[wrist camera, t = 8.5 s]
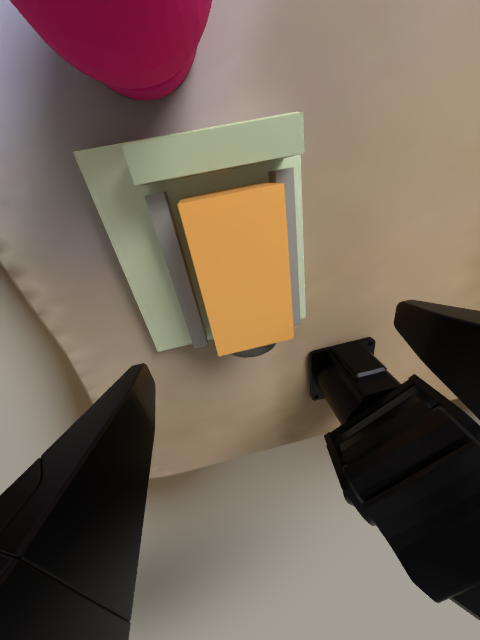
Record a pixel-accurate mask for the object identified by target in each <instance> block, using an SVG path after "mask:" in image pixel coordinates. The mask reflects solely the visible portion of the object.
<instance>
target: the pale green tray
mask: <svg viewBox="0 0 480 640" xmlns="http://www.w3.org/2000/svg"><path fill="white" fill-rule="evenodd" d="M303 153H304V122H303V113H299V111H298V112H292V113H286V114H281V115H275V116H270V117H264V118H258V119H253V120H247V121H242V122H236V123H230V124H225V125H219V126H214V127H208V128H202V129H197V130H191V131H186V132H180V133H174V134H169V135H163V136H158V137H152V138H146V139H141V140H135V141H130V142H124V143H119V144H113V145H107V146H102V147H96V148H91V149H85V150H79V151H74V152H73V154H74V156H75V158H76V161H77V163H78V166H79V168H80V170H81V173H82V175H83V177H84V180H85V182H86V184H87V187H88V189H89V191H90V194H91V196H92V198H93V201H94V203H95V205H96V208H97V210H98V213H99V215H100V217H101V220H102V222H103V224H104V227H105V229H106V231H107V234H108V236H109V238H110V241H111V243H112V245H113V248H114V250H115V253H116V255H117V257H118V260H119V262H120V264H121V267H122V269H123V271H124V274H125V276H126V278H127V281H128V283H129V285H130V288H131V290H132V292H133V295H134V297H135V300H136V302H137V304H138V307H139V309H140V311H141V314H142V316H143V318H144V321H145V323H146V325H147V328H148V330H149V332H150V335H151V337H152V339H153V342H154V344H155V347H156V349H157V351H158V352H160V351H164V350H168V349H173V348H177V347H181V346H185V345H190V344H193V347H194V349H197V348H202V347H206V346H208V341H207V340H211V339H214V338H213V334H212V330H211V327H210V323H209V319H208V316H207V312H206V308H205V304H204V301H203V297H202V293H201V290H200V286H199V282H198V279H197V275H196V271H195V267H194V264H193V260H192V256H191V253H190V249H189V245H188V242H187V238H186V234H185V230H184V227H183V223H182V219H181V216H180V212H179V208H178V205H177V204H178V203H179V201H180V200H181V199H182V198H184V197H189V196H194V195H199V194H204V193H209V192H214V191H219V190H224V189H229V188H234V187H239V186H244V185H249V184H254V183H284V188H285V204H286V219H287V234H288V250H289V265H290V280H291V296H292V311H293V326H295V325H299V324H301V320H300V319H301V318H305V317H306V311H305V280H304V249H303V218H302V187H301V156H300V154H303Z"/></svg>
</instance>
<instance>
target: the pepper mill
mask: <svg viewBox="0 0 480 640" xmlns="http://www.w3.org/2000/svg"><path fill="white" fill-rule="evenodd" d="M10 1H11V2H12V3H13V5H14V6H15V7H16V8H17V9H18V11H19V12H20V13H21V14H22V15H23V17H24V18H25V19H26V20H27V21H28V23H29V24H30V25H31V26H32V27H33V28H34V29H35V31H36V32H37V33H38V34H39V35H40V36H41V38H42V39H43V40H44V41H45V42H46V43H47V44H48V45H49V46H50V47H51V48H52V49H53V50H54V51H55V52H56V53H58V54H59V55H60V56H61V57H62V58H63V59H64V60H66V61H67V62H69V63H70V64H71V65H73V66H74V67H76V68H77V69H78V70H80V71H81V72H83V73H84V74H86V75H88V76H90V77H91V78H93V79H96V80H98V81H101V82H103V83H104V84H105V85H107V86H108V87H109V88H111V89H112V90H113V91H115V92H117V93H120V94H122V95H124V96H126V97H129V98H132V99H137V100H153V99H159V98H162V97H164V96H166V95H168V94H170V93H171V92H173V91H174V90H175V89H176V88H177V87H178V86H179V85H180V84H181V83H182V82H183V80H184V79H185V77H186V76H187V74H188V72H189V70H190V68H191V65H192V63H193V60H194V57H195V54H196V49H197V46H198V43H199V41H200V39H201V36H202V34H203V32H204V29H205V27H206V23H207V19H208V16H209V12H210V8H211V3H212V0H10Z"/></svg>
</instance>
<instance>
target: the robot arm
mask: <svg viewBox="0 0 480 640" xmlns="http://www.w3.org/2000/svg"><path fill="white" fill-rule="evenodd" d="M394 326H395V328H396V330H397V331H398V332H399V333H400V335H401V336H402V337H403V338H404V340H405V341H406V342H407V343H408V344H409V346H410V347H411V348H412V349H413V351H414V352H415V353H416V354H417V356H418V357H419V358H420V359H421V360H422V361H423V362H424V364H425V365H426V366H427V367H428V368H429V369H430V370H431V371H432V372H433V373H434V374H435V375H436V376H437V377H438V378H439V379H440V380H441V381H442V382H443V383H444V384H445V385H446V386H447V387H448V388H449V389H450V390H451V391H452V392H453V393H454V394H455V395H456V396H457V397H458V398H459V399H460V400H461V401H462V402H463V403H464V404H465V405H466V406H467V407H468V408H469V409H470V410H471V411H472V412H473V414H475V416H476V417H477V418H478V419H479V420H480V311H477V310H471V309H465V308H459V307H453V306H447V305H441V304H435V303H429V302H423V301H417V300H407V301H402V302H400V303H398V305H397V307H396V313H395V318H394ZM374 349H375V340H374V339H373V338H371V337H368V338H363V339H359V340H355V341H351V342H347V343H343V344H339V345H335V346H331V347H326V348H322V349H318V350H314V351H312V352H311V353H310V355H309V363H310V396H311V398H312V399H313V400H319V399H323V398H325V399H326V400H327V402H328V404H329V405H330V407H331V409H332V410H333V412H334V413H335V415H336V417H337V418H338V420H339V422H340V423H341V426H339V427H338V428H336V429H335V430H333V431H332V432H331V433H330V432H328V433H327V434H325V435H324V437H325V440H326V443H327V449H328V451H329V454H330V457H331V460H332V463H333V465H334V468H335V471H336V474H337V476H338V479H339V482H340V485H341V488H342V490H343V494H344V497H345V499H346V501H347V502H348V503H349V504H351V505H353V506H355V508H356V509H357V510H358V512H359V513H360V514H361V516H362V517H363V518H364V519H365V520H366V521H367V522H368V523H369V524H371V525H372V526H375V525H376V526H377V527H378V528H379V530H380V531H381V533H382V534H383V536H384V537H385V538H386V540H387V541H388V543H389V544H390V546H391V547H392V549H393V551H394V552H395V554H396V555H397V557H398V559H399V561H400V562H401V564H402V566H403V567H404V569H405V570H406V572H407V574H408V575H409V577H410V579H411V580H412V581H413V583H415V584H416V585H417V586H418V587H419V588H420V589H421V590H422V591H423V592H424V593H426V594H427V595H428V596H429V597H430V598H431V599H432V600H434V601H435V602H437V603H440V602H442V601H444V600H447V599H451V600H452V601H453V602H455V603H456V604H457V605H459V606H460V607H462V608H463V609H464V610H466V611H467V612H469V613H470V614H471V615H473V616H474V617H476V618H477V619H478V620H480V426H479V425H478V424H477V423H476V422H475V421H474V420H473V419H472V418H471V417H469V416H468V415H467V414H466V413H465V412H464V411H462V410H461V409H460V408H459V407H457V406H456V405H455V404H454V403H452V402H451V401H450V400H448V399H447V398H446V397H444V396H443V395H442V394H440V393H439V392H438V391H436V390H435V389H434V388H432V387H431V386H430V385H428V384H427V383H426V382H424V381H423V380H422V379H420V378H419V377H418V376H416V375H415V374H413V375H412V376H411V377H409V378H408V380H407V381H406V382H404V383H403V384H400V383H399V382H398V381H397V380H396V379H395V378H394V377H393V376H392V375H391V374H390V373H389V372H388V371H387V368H386V367H385V366H384V365H383V364H382V363H381V362H380V361H379V360H378V359H377V358H376V357H375V356H374ZM315 355H316V356H315ZM314 356H315V357H314ZM154 433H155V382H154V379H153V377H152V375H151V373H150V371H149V369H148V367H147V365H146V364H144V363H142V364H137V365H133V366H131V367H130V368H129V369H128V370H127V371H126V372H125V373H124V374H123V375H122V376H121V377H120V378H119V379H118V380H117V381H116V382H115V383H114V384H113V385H112V386H111V387H110V388H109V389H108V390H107V391H106V392H105V393H104V394H103V395H102V396H101V397H100V398H99V399H98V400H97V401H96V402H95V403H94V404H93V405H92V406H91V407H90V408H89V409H88V410H87V411H86V412H85V413H84V414H83V415H82V416H81V417H80V418H79V419H78V420H77V421H76V422H75V423H74V424H73V425H72V426H71V427H70V428H69V429H68V430H67V431H66V432H65V433H64V434H63V435H62V436H61V437H60V438H59V439H58V440H57V441H56V442H55V443H53V445H52V446H51V447H50V448H48V449H47V450H46V451H45V452H44V453H43V455H42V456H41V458H39V459H37V460H36V461H35V462H34V463H33V464H32V465H31V466H30V467H29V468H28V469H27V470H26V471H25V472H24V473H23V474H22V475H21V476H20V477H19V478H18V479H17V480H16V481H15V482H14V483H13V484H12V485H11V486H10V487H9V488H7V489H6V490H5V491H4V492H3V493H2V494H1V495H0V640H128V638H129V630H130V622H129V621H130V620H131V613H132V606H133V598H134V590H135V583H136V575H137V567H138V559H139V551H140V543H141V536H142V527H143V519H144V512H145V504H146V497H147V488H148V480H149V473H150V465H151V457H152V450H153V442H154Z"/></svg>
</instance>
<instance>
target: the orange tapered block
mask: <svg viewBox="0 0 480 640" xmlns="http://www.w3.org/2000/svg"><path fill="white" fill-rule="evenodd" d="M177 205H178V208H179V212H180V216H181V219H182V223H183V227H184V230H185V234H186V238H187V242H188V245H189V249H190V253H191V256H192V260H193V264H194V267H195V271H196V275H197V279H198V282H199V286H200V290H201V293H202V297H203V301H204V304H205V308H206V312H207V316H208V319H209V323H210V327H211V330H212V334H213V338H214V341H215V345H216V349H217V353H218V356H223V355H227V354H233V355H235V356H238V357H255V356H259V355H262V354H264V353H266V352H268V351H270V350H271V349H272V348H273V347H274V346H275V344H276V343H277V342H281V341H286V340H290V339H294V327H293V311H292V296H291V280H290V265H289V250H288V234H287V219H286V204H285V188H284V183H254V184H249V185H244V186H239V187H234V188H229V189H224V190H219V191H214V192H209V193H204V194H199V195H194V196H189V197H184V198H182V199H181V200H180V201H179V203H178V204H177Z"/></svg>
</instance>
